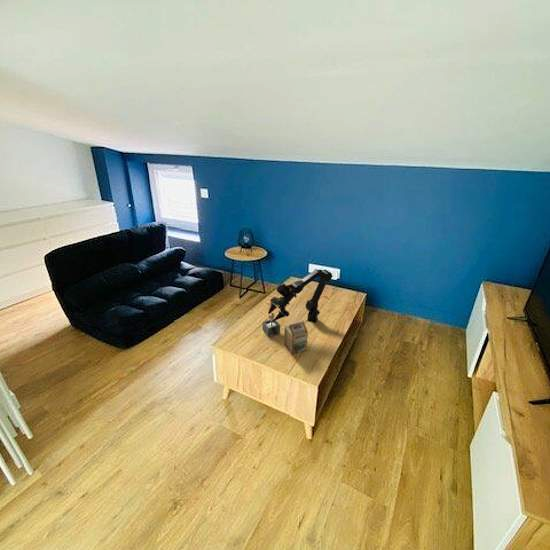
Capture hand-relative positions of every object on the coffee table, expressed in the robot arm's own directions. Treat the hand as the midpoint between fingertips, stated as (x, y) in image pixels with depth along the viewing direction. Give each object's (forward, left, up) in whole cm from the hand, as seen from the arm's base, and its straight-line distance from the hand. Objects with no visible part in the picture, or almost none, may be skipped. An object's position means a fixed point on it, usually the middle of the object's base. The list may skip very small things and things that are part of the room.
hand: (271, 316), depth 197 cm
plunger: (0, 0, -8) cm, 8 cm away
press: (-1, +1, -12) cm, 12 cm away
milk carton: (-21, +10, -12) cm, 26 cm away
